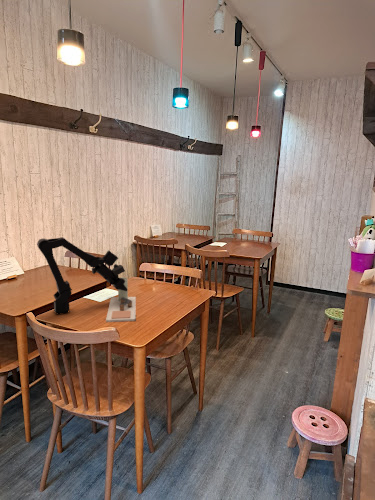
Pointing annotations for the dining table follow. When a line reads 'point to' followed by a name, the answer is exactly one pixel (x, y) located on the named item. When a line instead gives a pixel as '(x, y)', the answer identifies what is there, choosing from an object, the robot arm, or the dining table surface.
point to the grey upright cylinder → (123, 293)
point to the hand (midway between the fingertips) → (125, 289)
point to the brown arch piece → (125, 303)
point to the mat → (120, 314)
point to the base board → (116, 307)
